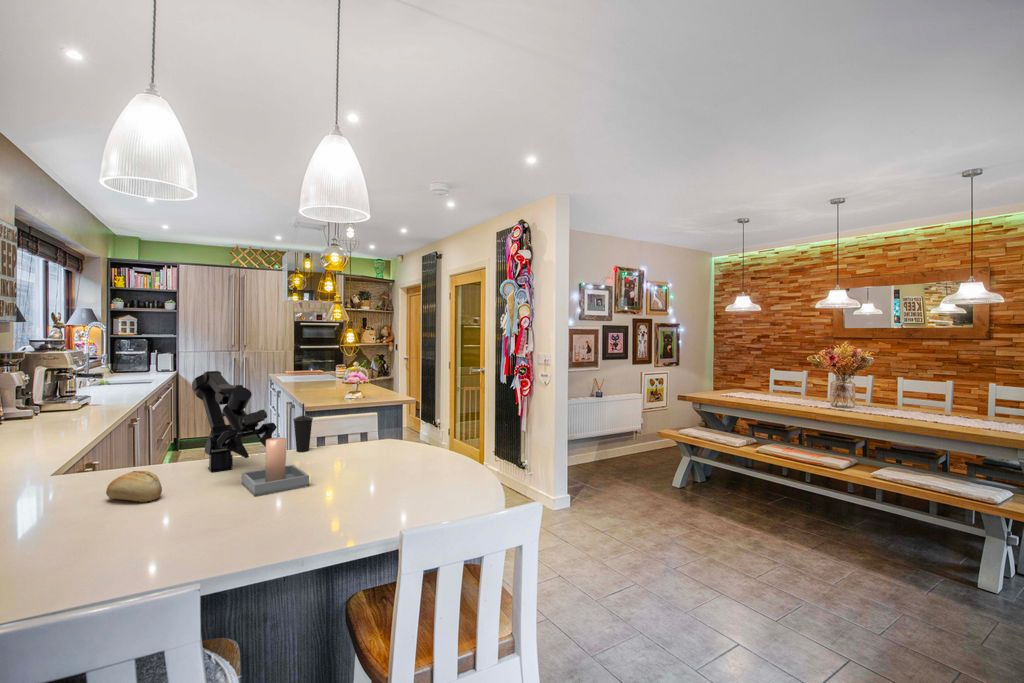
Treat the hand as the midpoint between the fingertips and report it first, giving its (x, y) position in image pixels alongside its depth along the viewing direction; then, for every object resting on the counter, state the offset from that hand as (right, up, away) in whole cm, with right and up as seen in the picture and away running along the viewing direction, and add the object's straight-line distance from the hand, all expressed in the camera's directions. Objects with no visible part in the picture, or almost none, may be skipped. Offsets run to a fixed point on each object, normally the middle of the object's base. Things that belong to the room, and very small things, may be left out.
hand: (260, 454), depth 157 cm
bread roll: (-27, -9, -18) cm, 34 cm away
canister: (+6, -9, -3) cm, 11 cm away
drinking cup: (-5, -9, +42) cm, 44 cm away
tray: (+6, -9, -3) cm, 12 cm away
